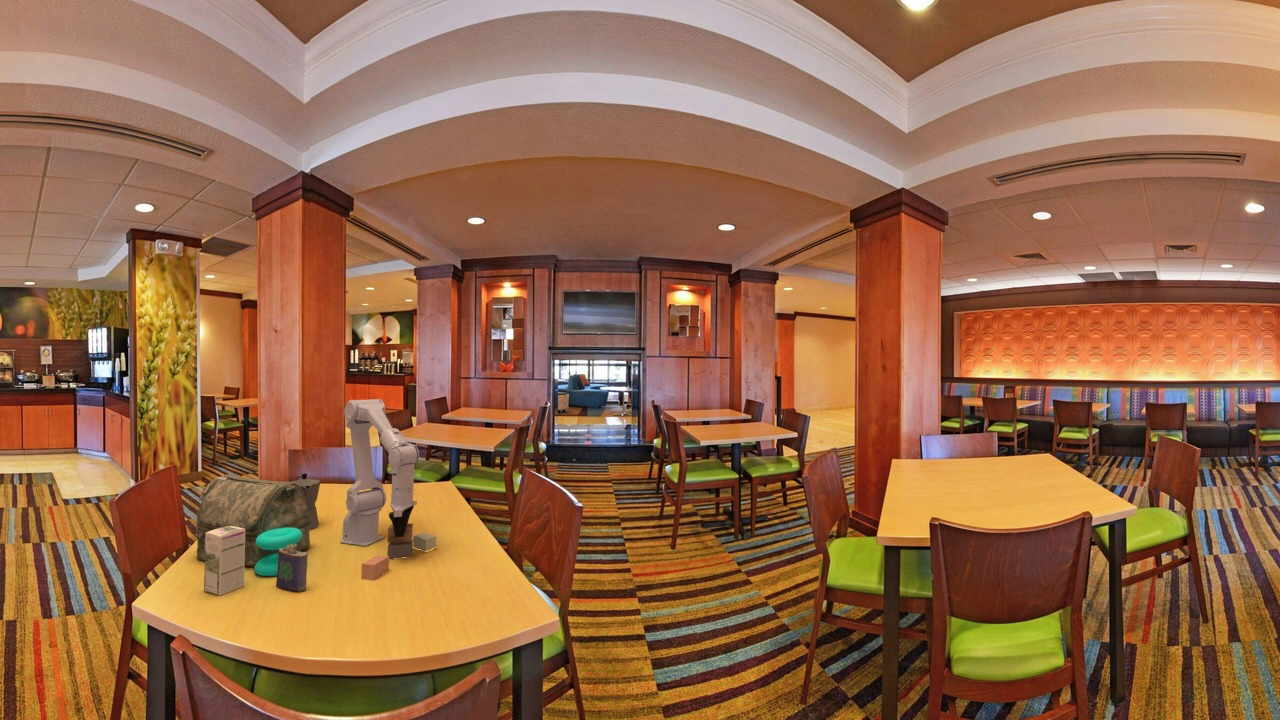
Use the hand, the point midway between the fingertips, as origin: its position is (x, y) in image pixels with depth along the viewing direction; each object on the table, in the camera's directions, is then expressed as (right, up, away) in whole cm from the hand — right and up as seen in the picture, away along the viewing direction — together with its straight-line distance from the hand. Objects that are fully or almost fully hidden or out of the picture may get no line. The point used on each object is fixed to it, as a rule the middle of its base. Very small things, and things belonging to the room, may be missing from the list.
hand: (400, 534), depth 141 cm
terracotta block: (-1, -7, -12) cm, 14 cm away
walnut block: (0, -2, 0) cm, 2 cm away
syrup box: (-32, -5, -23) cm, 39 cm away
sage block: (+4, -7, +6) cm, 10 cm away
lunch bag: (-41, -5, -2) cm, 42 cm away
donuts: (-27, -6, -12) cm, 30 cm away
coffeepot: (-43, -5, +20) cm, 48 cm away
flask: (-17, -6, -21) cm, 28 cm away
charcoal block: (0, -7, 0) cm, 7 cm away
